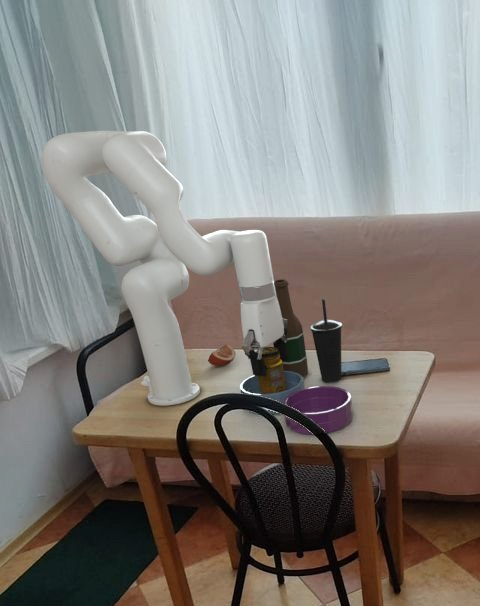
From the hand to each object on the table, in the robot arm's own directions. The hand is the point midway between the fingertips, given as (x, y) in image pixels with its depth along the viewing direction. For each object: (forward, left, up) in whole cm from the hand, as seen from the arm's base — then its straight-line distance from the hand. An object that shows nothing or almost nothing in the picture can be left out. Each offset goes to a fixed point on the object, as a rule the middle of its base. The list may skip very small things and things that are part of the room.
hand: (271, 367), depth 142 cm
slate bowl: (-1, 0, -9) cm, 9 cm away
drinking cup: (+6, +16, -9) cm, 19 cm away
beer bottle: (-5, +16, -9) cm, 19 cm away
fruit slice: (-28, +18, -9) cm, 34 cm away
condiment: (-1, 0, -9) cm, 9 cm away
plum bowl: (+14, -6, -9) cm, 18 cm away
